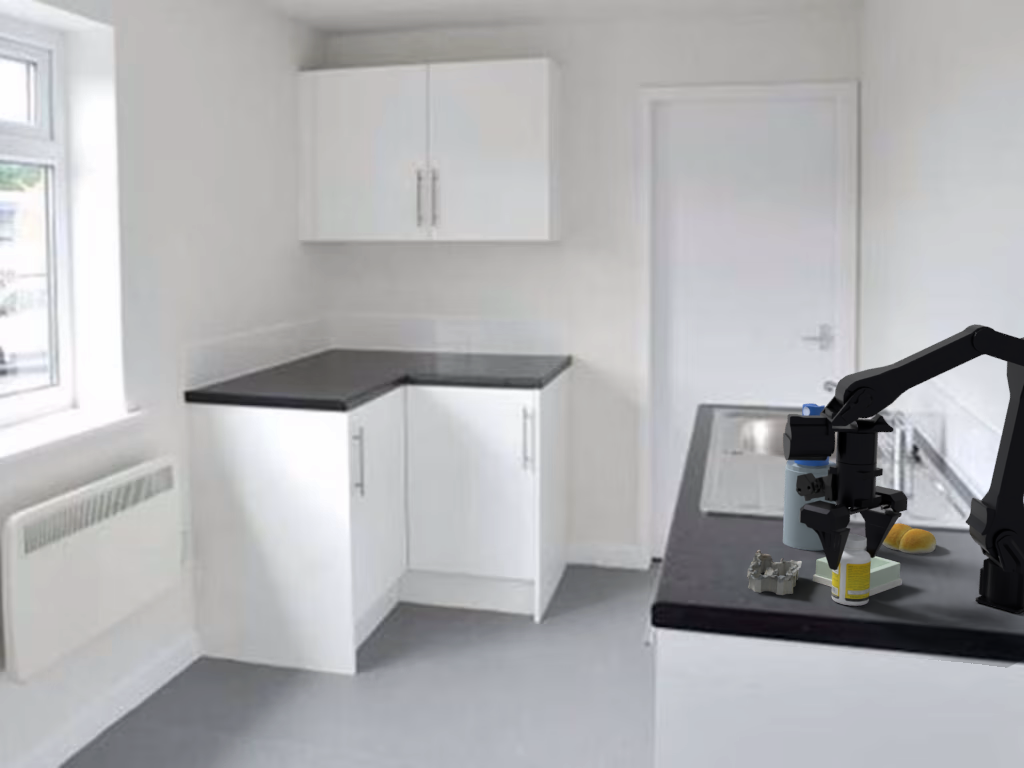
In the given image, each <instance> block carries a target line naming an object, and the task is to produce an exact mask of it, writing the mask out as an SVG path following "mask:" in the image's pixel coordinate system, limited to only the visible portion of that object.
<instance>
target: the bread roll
mask: <svg viewBox="0 0 1024 768" xmlns="http://www.w3.org/2000/svg"><path fill="white" fill-rule="evenodd" d="M882 545H883V546H884V547H886V548H887V549H890V550H894V551H900V552H902V553H905V554H906V553H907V554H915V555H916V554H917V555H918V554H920V555H921V554H929V553H933V552H934V551H935V549H936V545H937V540H936V536H935V535H934V534H933V533H932V532H930V531H927V530H925V529H923V528H922V529H921V528H913V527H911V526H910V525H908V524H905V523H895V524H894V525H893V527H892V529H891V530H890V532H889V533H888V535H887V537H886V538H885V540H884V542H883V543H882Z"/></svg>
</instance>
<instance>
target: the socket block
mask: <svg viewBox="0 0 1024 768" xmlns="http://www.w3.org/2000/svg"><path fill="white" fill-rule="evenodd" d="M900 575H901V563H900V562H897V561H894V560H891V559H887V558H884V557H880V556H875V557H874V558H871V568H870V593H869V597H871V596H874V595H876V594H880V593H882V592H886V591H888V590H891V589H893V588H897V587H899V586H902V584H903V583H902V582H903V578H902V577H901V576H900ZM900 577H901V578H900ZM812 581H813V582H815V583H818V584H821V585H825V586H828V587H830V588H832V569H830V568H829V565H828V562H827V559H826V556H824V557H821V558H818V559H816V560H815V574H813V575H812Z"/></svg>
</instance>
